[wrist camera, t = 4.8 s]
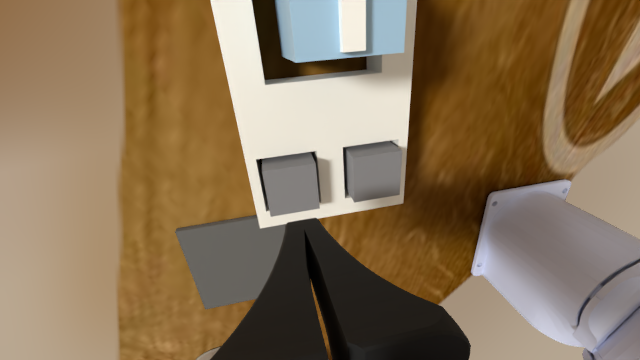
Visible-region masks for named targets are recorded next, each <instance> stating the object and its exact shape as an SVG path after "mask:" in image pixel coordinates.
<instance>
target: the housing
mask: <svg viewBox="0 0 640 360" xmlns="http://www.w3.org/2000/svg"><path fill="white" fill-rule="evenodd" d="M211 5H212V10H213V14H214V19H215V23H216V28H217V33H218V37H219V42H220V46H221V51H222V56H223V60H224V65H225V70H226V74H227V79H228V83H229V88H230V93H231V97H232V102H233V106H234V111H235V116H236V120H237V125H238V129H239V134H240V139H241V143H242V148H243V152H244V157H245V162H246V166H247V171H248V175H249V180H250V185H251V189H252V194H253V198H254V203H255V208H256V212H257V217H258V222H259V226H260V228H266V227H272V226H277V225H283V224H287V223H288V222H293V221H298V220H304V219H310V218H323V217H329V216H334V215H340V214H346V213H352V212H357V211H363V210H369V209H374V208H380V207H386V206H391V205H397V204H403V200H404V185H405V171H406V156H407V141H408V127H409V112H410V97H411V83H412V68H413V53H414V38H415V24H416V9H417V0H407V7H406V25H405V43H404V53H393V54H383V55H372V56H367V70H357V71H347V72H338V73H328V74H318V75H309V76H299V77H289V78H280V79H270V80H265V79H264V73H263V66H262V60H261V54H260V48H259V41H258V35H257V29H256V23H255V16H254V10H253V4H252V0H211ZM383 141H390V142H391V143H393V144H394V145H395V146H397V147H398V148H399V149H401V150H402V164H401V181H400V195H396V196H390V197H384V198H378V199H372V200H367V201H361V202H355V203H354V201H353V199H352V198H351V196H350V194H349V193H348V191H347V189H346V188H345V186H344V165H343V147H348V146H355V145H362V144H369V143H376V142H383ZM305 152H312V157H313V159H314V161H315V163H316V173H317V183H318V194H319V205H320V209H314V210H308V211H302V212H296V213H290V214H284V215H279V216H273V217H271V216H270V211H269V205H268V200H267V195H266V192H265V187H264V182H263V177H262V171H261V166H260V161H259V159H263V158H270V157H277V156H284V155H291V154H298V153H305Z"/></svg>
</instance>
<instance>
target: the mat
mask: <svg viewBox="0 0 640 360" xmlns="http://www.w3.org/2000/svg"><path fill="white" fill-rule="evenodd" d="M285 225H286V224H283V225H277V226H272V227H266V228H260V226H259V222H258V217H257V215H254V216H249V217H243V218H237V219H231V220H225V221H219V222H213V223H207V224H201V225H195V226H189V227H183V228H177V229H176V231H175V233H176V235H177V238H178V240H179V243H180V245H181V248H182V250H183V253H184V256H185V258H186V261H187V263H188V266H189V268H190V271H191V274H192V276H193V279H194V281H195V284H196V286H197V289H198V291H199V294H200V297H201V299H202V302H203V304H204V307H205V309H210V308H214V307H219V306H224V305H229V304H233V303H238V302H243V301H248V300H253V299H257V297H258V296H259V294H260V293H261V291H262V289H263V287H264V285H265V283H266V282H267V280H268V278H269V276H270V273H271V271H272V269H273V267H274V264H275V262H276V259H277V257H278V254H279V251H280V248H281V245H282V242H283V238H284V233H285Z"/></svg>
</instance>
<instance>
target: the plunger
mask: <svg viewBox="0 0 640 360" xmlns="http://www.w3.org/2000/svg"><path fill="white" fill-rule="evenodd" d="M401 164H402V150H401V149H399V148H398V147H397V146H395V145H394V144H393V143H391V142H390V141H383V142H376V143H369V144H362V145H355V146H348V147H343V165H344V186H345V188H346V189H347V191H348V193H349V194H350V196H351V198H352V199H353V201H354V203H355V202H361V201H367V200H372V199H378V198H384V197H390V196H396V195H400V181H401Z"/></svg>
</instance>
